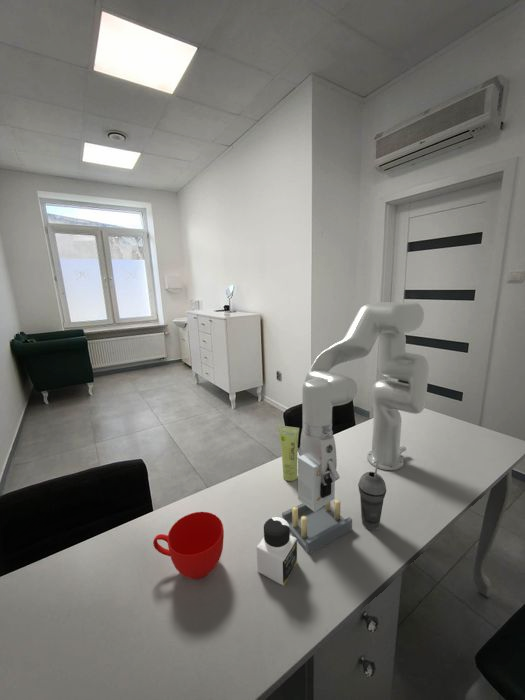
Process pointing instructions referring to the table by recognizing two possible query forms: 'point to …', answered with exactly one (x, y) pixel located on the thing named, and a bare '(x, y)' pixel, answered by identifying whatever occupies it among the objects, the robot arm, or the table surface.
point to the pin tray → (316, 525)
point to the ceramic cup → (194, 544)
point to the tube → (289, 451)
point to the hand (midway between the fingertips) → (316, 487)
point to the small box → (311, 484)
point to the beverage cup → (371, 498)
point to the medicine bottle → (277, 551)
